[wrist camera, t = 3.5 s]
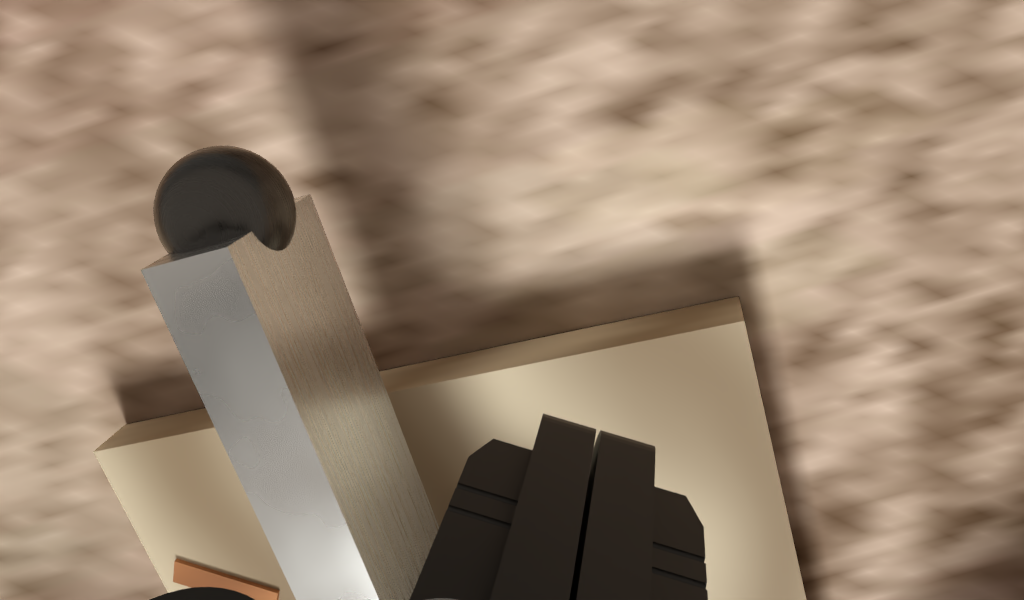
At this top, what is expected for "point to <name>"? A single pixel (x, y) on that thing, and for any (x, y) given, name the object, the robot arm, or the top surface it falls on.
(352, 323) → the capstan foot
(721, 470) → the beige flat square slab
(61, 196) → the top surface
